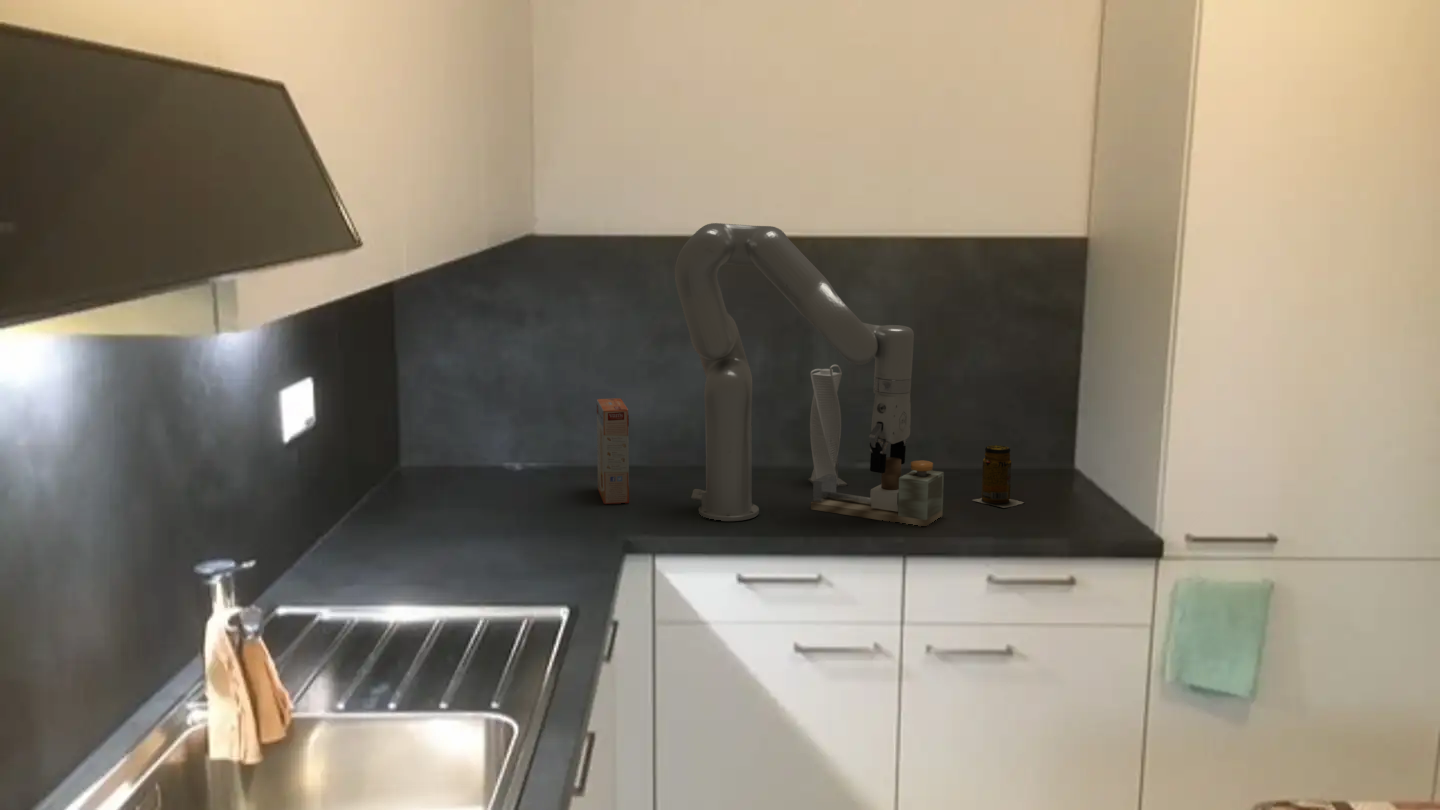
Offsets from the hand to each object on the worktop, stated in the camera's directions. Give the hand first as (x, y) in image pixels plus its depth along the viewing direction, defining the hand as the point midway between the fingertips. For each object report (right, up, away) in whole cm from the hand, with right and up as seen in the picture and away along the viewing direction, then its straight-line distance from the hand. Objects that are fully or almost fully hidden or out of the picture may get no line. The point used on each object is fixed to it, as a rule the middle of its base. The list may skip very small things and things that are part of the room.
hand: (887, 467), depth 263 cm
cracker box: (-58, -7, +17) cm, 61 cm away
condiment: (+25, -8, +12) cm, 29 cm away
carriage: (+1, -8, +2) cm, 8 cm away
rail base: (-2, -10, +4) cm, 10 cm away
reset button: (+7, -2, -3) cm, 8 cm away
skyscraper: (-10, -5, +28) cm, 30 cm away
